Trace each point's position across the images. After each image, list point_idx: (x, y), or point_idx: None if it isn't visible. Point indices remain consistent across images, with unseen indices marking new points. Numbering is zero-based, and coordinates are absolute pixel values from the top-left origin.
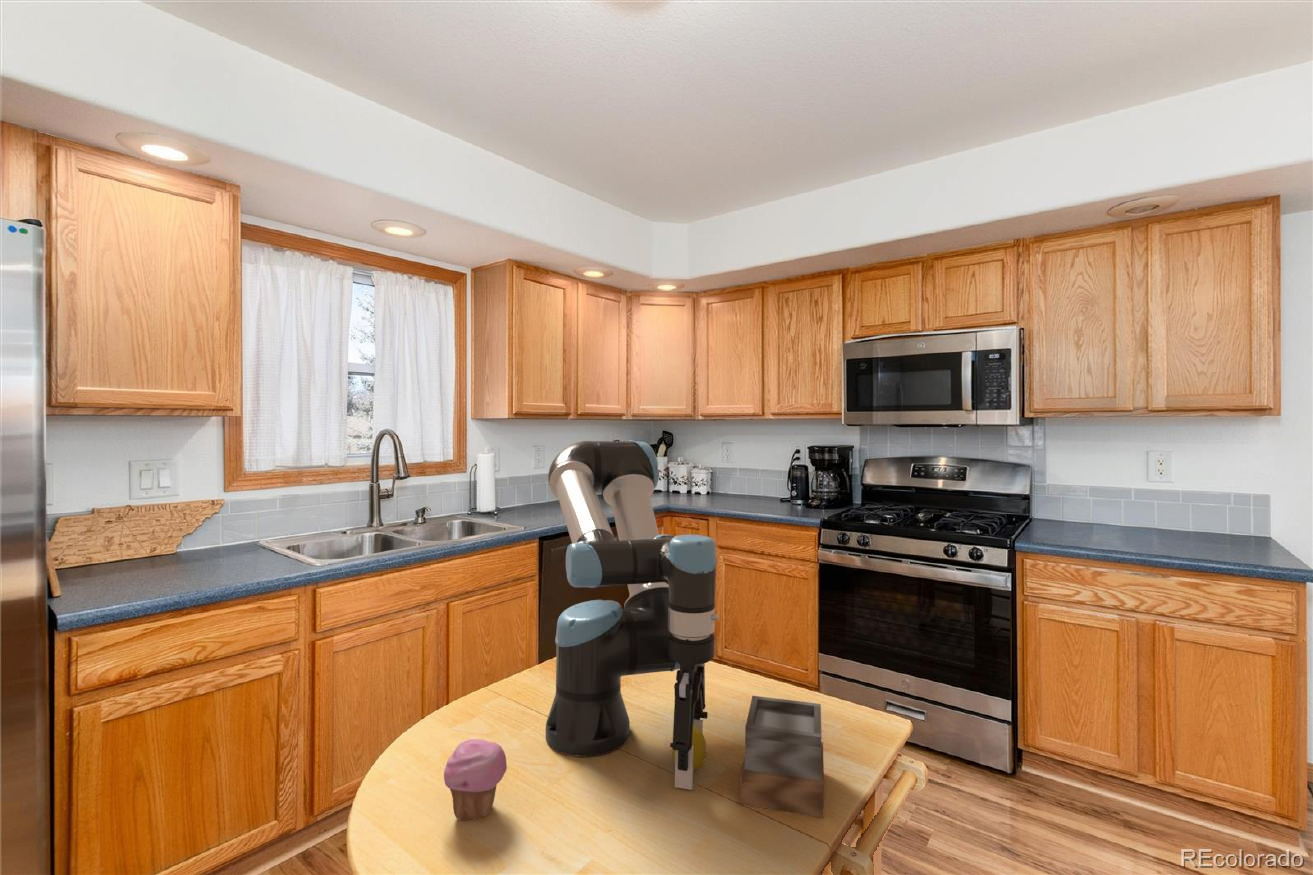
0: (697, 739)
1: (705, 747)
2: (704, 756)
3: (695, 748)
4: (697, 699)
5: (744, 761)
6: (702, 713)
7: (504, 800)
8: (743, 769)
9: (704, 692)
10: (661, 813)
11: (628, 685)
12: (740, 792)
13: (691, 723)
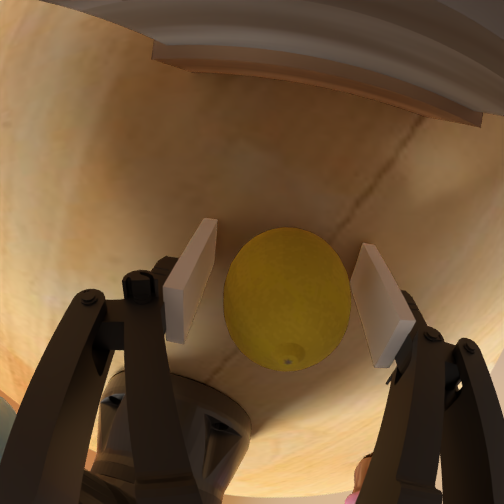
0: (336, 304)
1: (304, 248)
2: (315, 238)
3: (347, 292)
4: (431, 495)
5: (425, 96)
6: (145, 305)
7: (359, 451)
8: (473, 115)
9: (57, 349)
10: (438, 300)
11: (13, 351)
12: (441, 119)
13: (441, 403)
